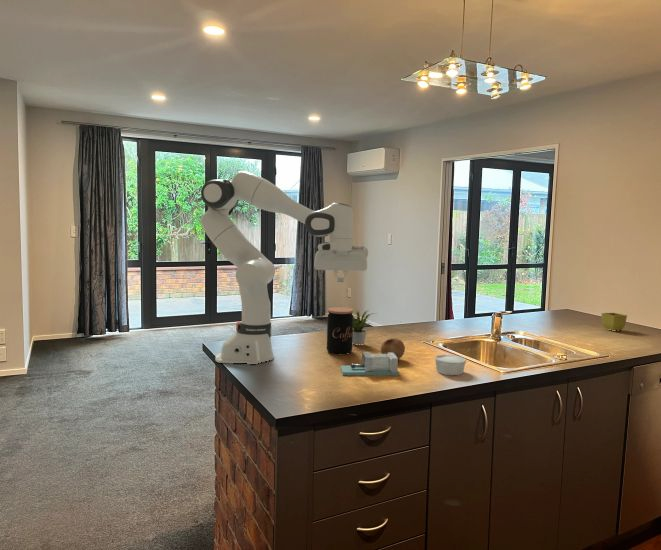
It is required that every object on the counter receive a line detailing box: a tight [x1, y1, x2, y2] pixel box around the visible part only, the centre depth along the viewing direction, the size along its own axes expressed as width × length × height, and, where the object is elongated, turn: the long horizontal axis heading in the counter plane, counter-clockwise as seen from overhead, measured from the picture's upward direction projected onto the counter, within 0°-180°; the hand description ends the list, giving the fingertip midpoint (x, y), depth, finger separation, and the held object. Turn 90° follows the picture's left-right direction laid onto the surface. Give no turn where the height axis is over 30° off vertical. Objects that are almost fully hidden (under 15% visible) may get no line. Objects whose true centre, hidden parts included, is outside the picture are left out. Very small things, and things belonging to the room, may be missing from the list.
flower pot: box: [600, 312, 628, 331], centre depth 261 cm, size 9×9×9 cm
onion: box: [380, 337, 406, 360], centre depth 194 cm, size 10×9×10 cm
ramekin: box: [434, 354, 467, 376], centre depth 180 cm, size 11×11×5 cm
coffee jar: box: [326, 306, 354, 355], centre depth 203 cm, size 11×11×18 cm
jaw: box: [350, 351, 374, 371], centre depth 177 cm, size 8×8×5 cm
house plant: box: [352, 309, 376, 345], centre depth 217 cm, size 14×14×16 cm
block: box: [371, 353, 390, 370], centre depth 177 cm, size 6×4×5 cm, turn 95°
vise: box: [340, 353, 400, 376], centre depth 177 cm, size 20×8×6 cm, turn 95°
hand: (340, 281), depth 187 cm, fingers closed
